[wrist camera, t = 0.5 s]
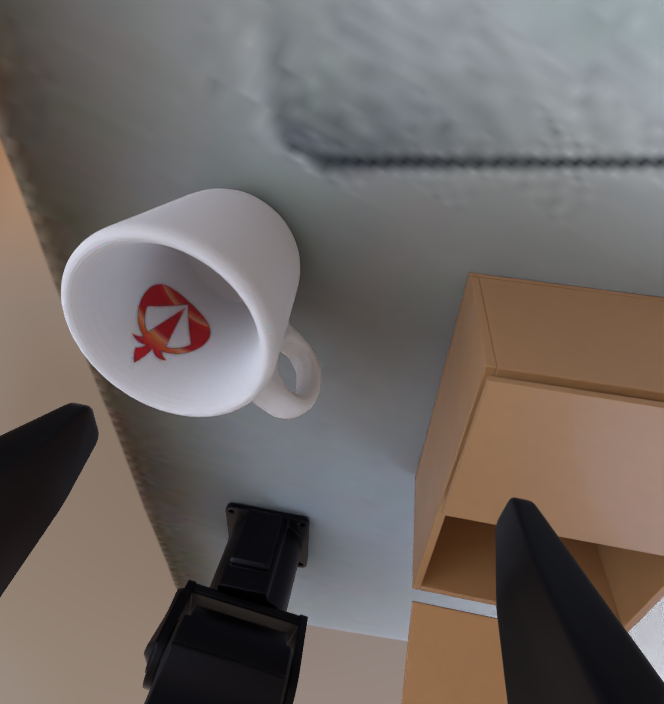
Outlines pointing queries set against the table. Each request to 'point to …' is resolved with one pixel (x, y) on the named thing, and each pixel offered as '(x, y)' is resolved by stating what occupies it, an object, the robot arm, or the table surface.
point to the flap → (453, 658)
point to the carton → (547, 438)
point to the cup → (194, 307)
